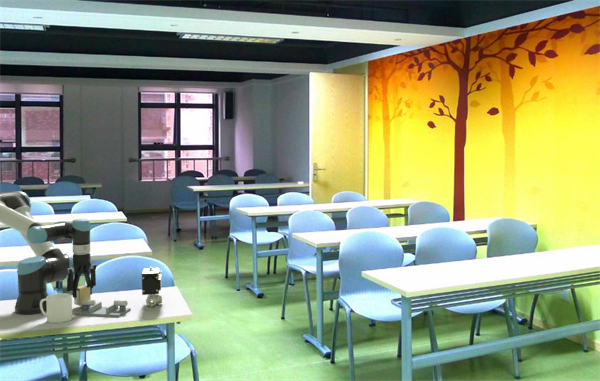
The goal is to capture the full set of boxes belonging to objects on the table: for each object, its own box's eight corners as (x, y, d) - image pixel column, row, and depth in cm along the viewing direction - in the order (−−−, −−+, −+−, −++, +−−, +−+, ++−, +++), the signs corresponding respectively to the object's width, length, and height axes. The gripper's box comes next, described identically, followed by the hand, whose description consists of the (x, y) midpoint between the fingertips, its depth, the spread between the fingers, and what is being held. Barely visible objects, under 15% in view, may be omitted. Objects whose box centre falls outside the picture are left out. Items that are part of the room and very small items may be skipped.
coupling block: (74, 304, 271) (74, 287, 270) (84, 302, 274) (84, 285, 274) (80, 306, 267) (80, 288, 267) (90, 303, 271) (90, 286, 271)
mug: (70, 315, 258) (69, 292, 257) (74, 321, 249) (73, 297, 248) (39, 319, 252) (38, 295, 251) (41, 325, 243) (40, 301, 242)
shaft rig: (76, 315, 258) (75, 302, 257) (89, 308, 269) (89, 296, 268) (118, 317, 254) (118, 304, 254) (130, 310, 265) (130, 298, 264)
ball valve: (161, 309, 266) (160, 270, 265) (142, 310, 264) (141, 271, 263) (163, 299, 284) (162, 262, 282) (145, 300, 282) (144, 263, 281)
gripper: (66, 257, 260) (67, 308, 262) (103, 251, 273) (104, 300, 275) (58, 254, 265) (59, 305, 267) (95, 249, 278) (96, 297, 280)
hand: (82, 303), depth 271 cm, fingers closed on coupling block, 5 cm apart
